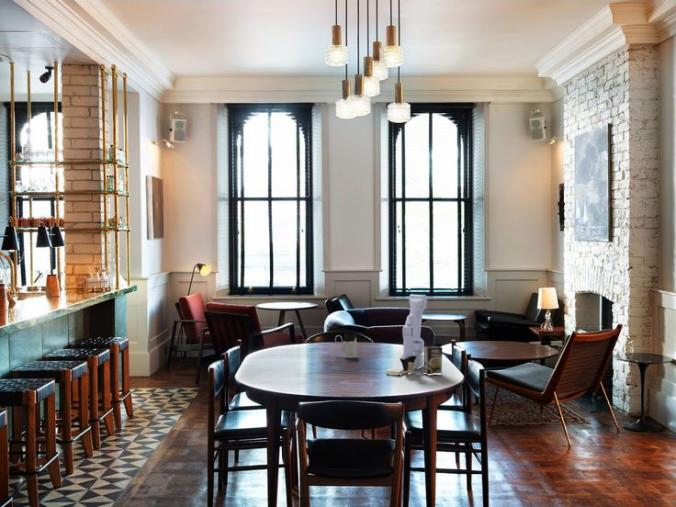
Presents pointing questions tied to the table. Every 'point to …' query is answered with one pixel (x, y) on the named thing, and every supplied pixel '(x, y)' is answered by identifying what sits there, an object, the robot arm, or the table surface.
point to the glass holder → (349, 345)
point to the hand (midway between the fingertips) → (408, 369)
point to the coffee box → (432, 359)
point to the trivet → (394, 371)
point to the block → (410, 368)
